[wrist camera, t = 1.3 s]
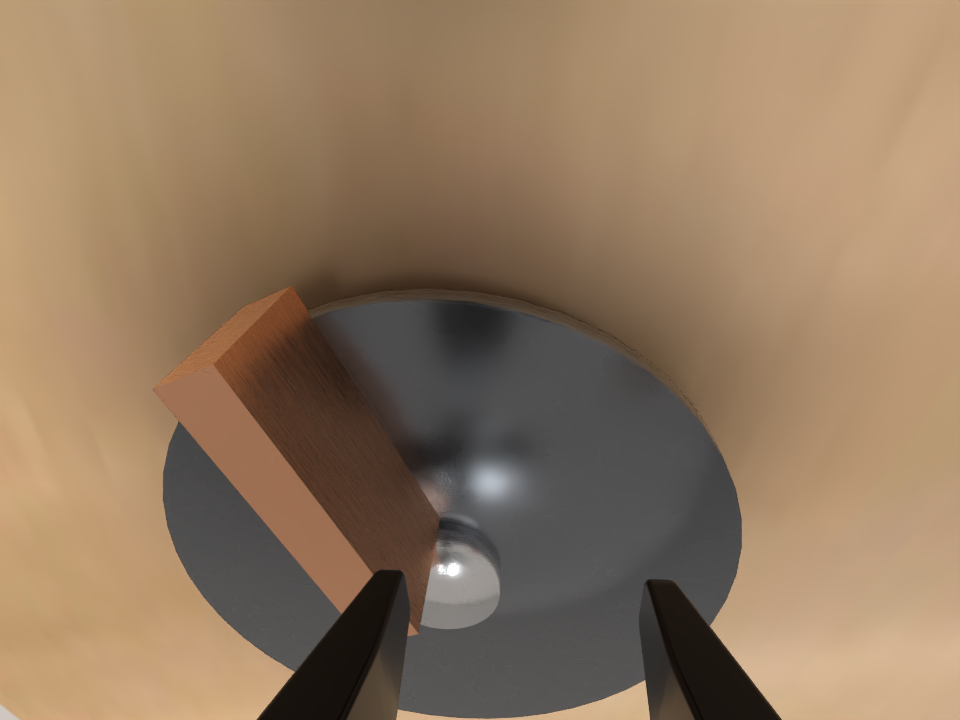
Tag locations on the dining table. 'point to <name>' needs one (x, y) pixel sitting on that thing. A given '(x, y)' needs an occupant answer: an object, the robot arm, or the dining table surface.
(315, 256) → the dining table surface
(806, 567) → the dining table surface
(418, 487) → the grey disc with hub
